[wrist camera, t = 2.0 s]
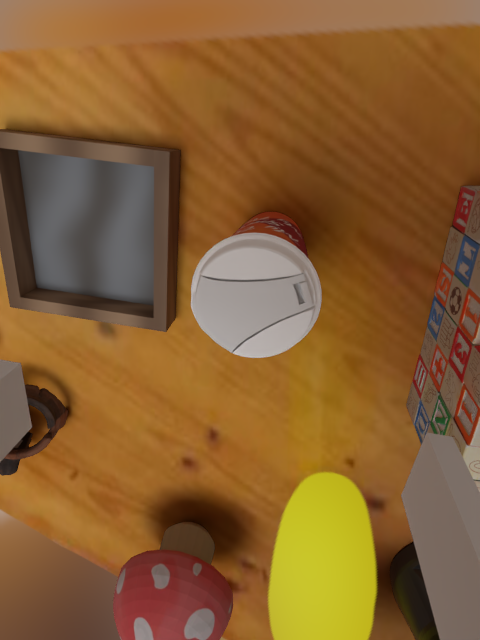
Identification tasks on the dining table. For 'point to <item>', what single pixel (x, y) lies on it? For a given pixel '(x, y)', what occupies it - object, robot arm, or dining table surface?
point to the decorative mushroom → (173, 590)
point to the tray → (90, 228)
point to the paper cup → (257, 288)
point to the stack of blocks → (454, 342)
